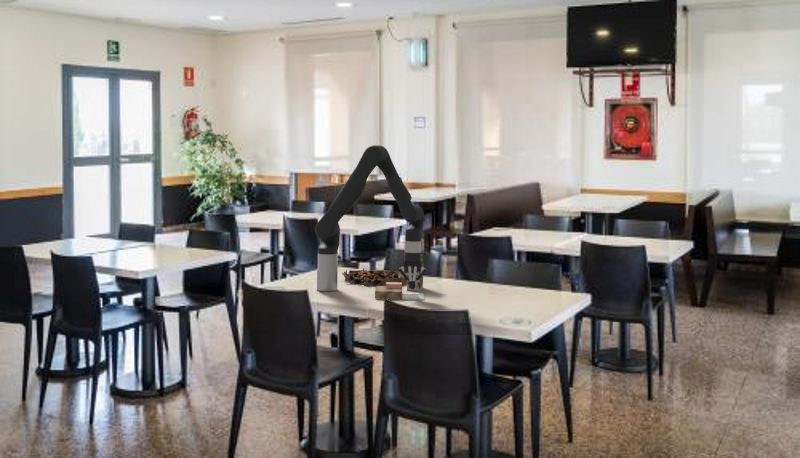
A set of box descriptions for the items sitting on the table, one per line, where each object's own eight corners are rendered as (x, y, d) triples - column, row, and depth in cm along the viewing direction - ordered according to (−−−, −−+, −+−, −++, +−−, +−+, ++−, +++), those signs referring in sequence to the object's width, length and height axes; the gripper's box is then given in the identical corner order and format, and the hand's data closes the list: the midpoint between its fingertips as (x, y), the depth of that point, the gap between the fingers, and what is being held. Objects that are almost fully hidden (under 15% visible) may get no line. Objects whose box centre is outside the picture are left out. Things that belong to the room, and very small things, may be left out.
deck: (374, 298, 370) (375, 291, 369) (376, 293, 382) (376, 285, 382) (401, 299, 370) (402, 291, 369) (402, 293, 382) (402, 286, 382)
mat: (402, 299, 369) (402, 298, 369) (402, 293, 383) (402, 292, 383) (424, 300, 369) (424, 299, 369) (423, 294, 383) (423, 293, 383)
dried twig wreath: (328, 283, 413) (328, 267, 412) (373, 276, 438) (373, 261, 437) (380, 290, 390) (380, 274, 389) (425, 282, 415) (425, 267, 414)
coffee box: (420, 291, 390) (420, 257, 388) (406, 290, 391) (407, 256, 389) (423, 287, 398) (424, 254, 397) (410, 286, 400) (410, 253, 398)
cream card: (402, 298, 370) (402, 294, 370) (402, 296, 374) (402, 292, 374) (417, 298, 370) (418, 294, 369) (418, 297, 374) (418, 292, 373)
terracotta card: (386, 288, 377) (386, 283, 376) (386, 286, 381) (386, 282, 380) (401, 288, 377) (401, 284, 376) (401, 286, 381) (401, 282, 380)
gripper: (397, 251, 366) (397, 290, 368) (427, 252, 366) (427, 291, 368) (398, 249, 374) (397, 287, 376) (427, 249, 373) (426, 287, 375)
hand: (412, 289), depth 372 cm, fingers closed
